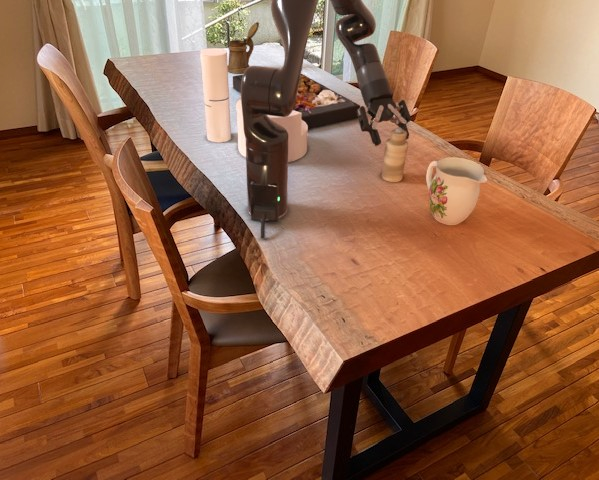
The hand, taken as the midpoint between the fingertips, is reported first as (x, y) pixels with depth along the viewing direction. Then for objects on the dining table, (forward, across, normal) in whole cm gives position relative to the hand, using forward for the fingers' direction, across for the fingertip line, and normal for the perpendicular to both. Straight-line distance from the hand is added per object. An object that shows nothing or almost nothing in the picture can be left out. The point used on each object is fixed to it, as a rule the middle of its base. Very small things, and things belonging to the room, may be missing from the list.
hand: (392, 142), depth 129 cm
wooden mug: (-62, -5, +76) cm, 98 cm away
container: (-12, -23, +25) cm, 36 cm away
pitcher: (+23, +1, -10) cm, 25 cm away
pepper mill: (+8, 0, +5) cm, 9 cm away
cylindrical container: (-21, -35, +34) cm, 53 cm away
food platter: (-34, -2, +47) cm, 58 cm away
